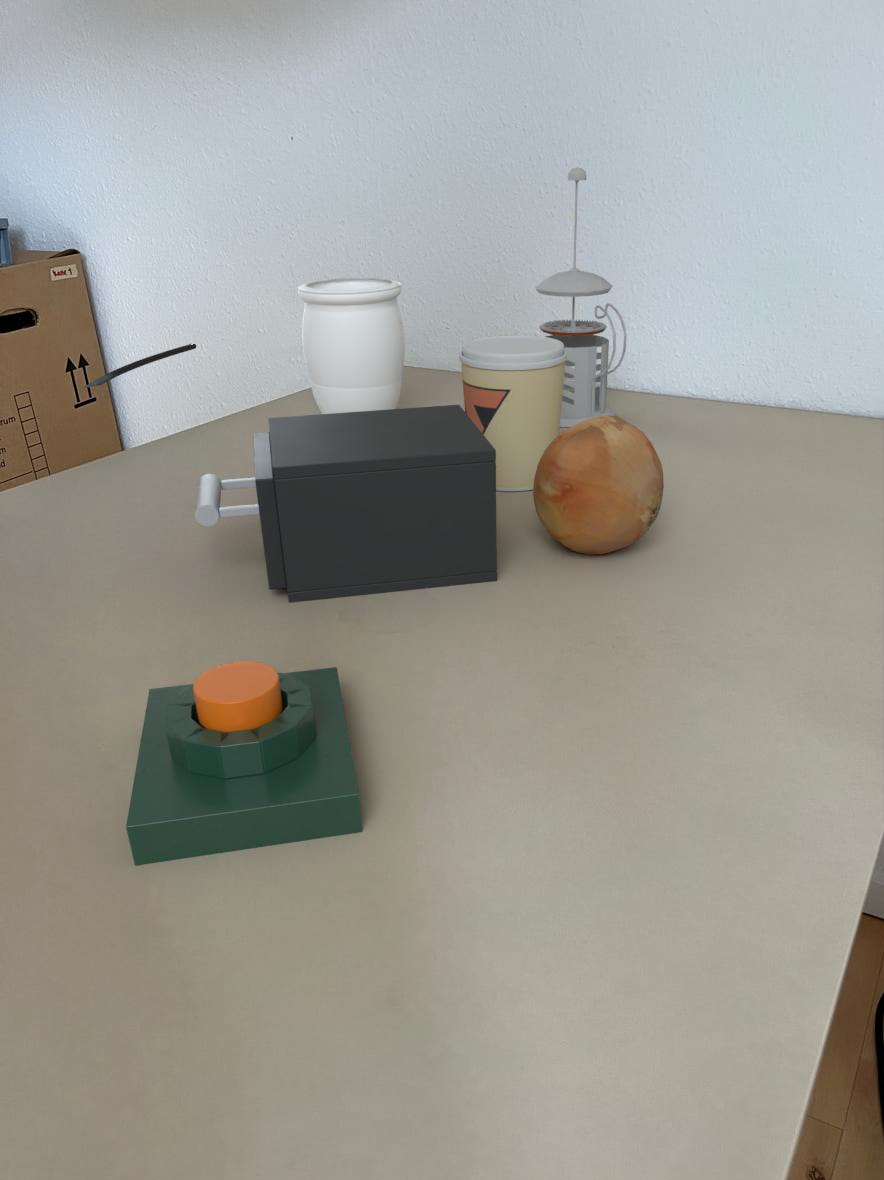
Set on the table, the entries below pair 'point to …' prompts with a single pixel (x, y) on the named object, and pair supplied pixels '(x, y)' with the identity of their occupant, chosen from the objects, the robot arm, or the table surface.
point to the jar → (353, 343)
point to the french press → (581, 338)
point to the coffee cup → (514, 400)
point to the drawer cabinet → (384, 501)
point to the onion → (599, 485)
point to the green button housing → (243, 775)
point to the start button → (237, 696)
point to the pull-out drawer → (249, 506)
